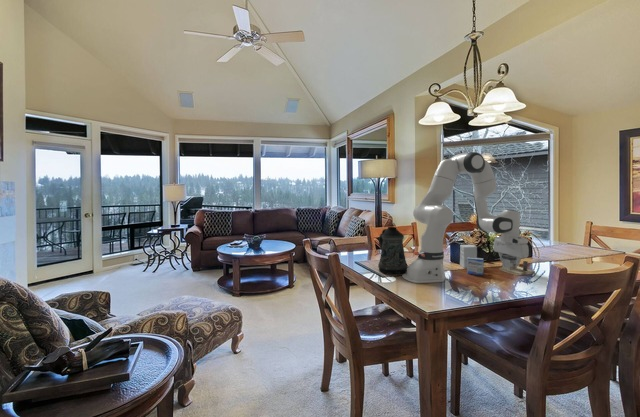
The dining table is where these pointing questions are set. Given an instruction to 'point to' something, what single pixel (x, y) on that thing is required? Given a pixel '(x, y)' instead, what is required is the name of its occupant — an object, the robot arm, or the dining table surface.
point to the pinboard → (519, 270)
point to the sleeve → (509, 262)
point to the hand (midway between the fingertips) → (509, 262)
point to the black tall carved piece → (392, 252)
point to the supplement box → (467, 254)
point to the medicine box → (475, 266)
